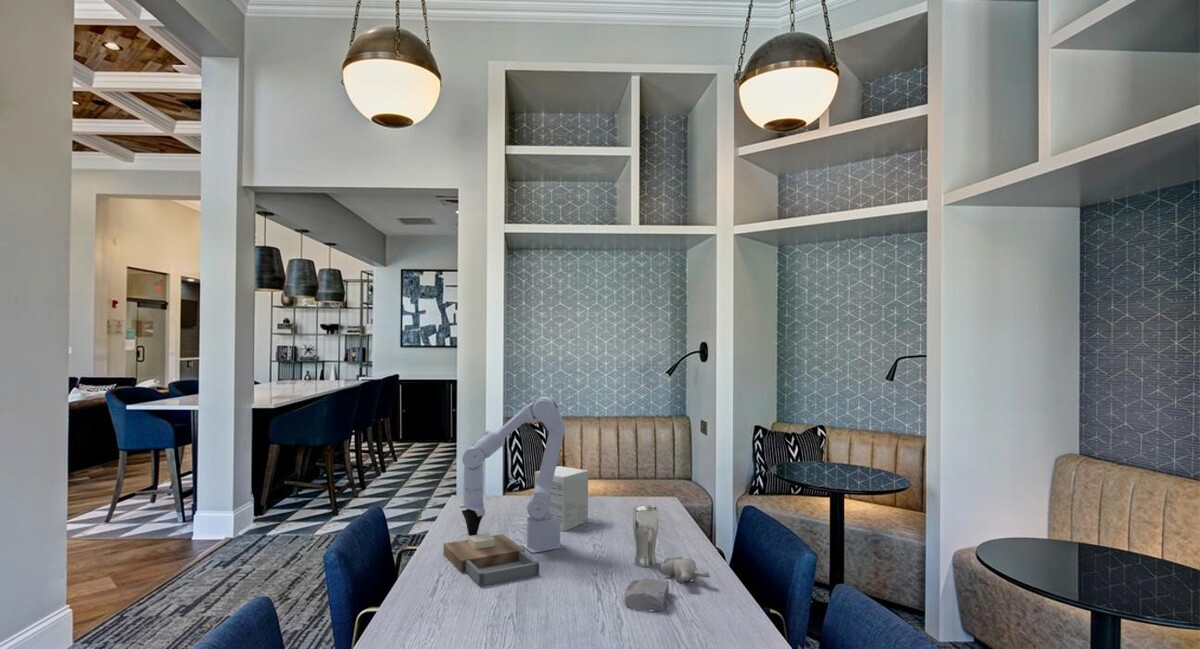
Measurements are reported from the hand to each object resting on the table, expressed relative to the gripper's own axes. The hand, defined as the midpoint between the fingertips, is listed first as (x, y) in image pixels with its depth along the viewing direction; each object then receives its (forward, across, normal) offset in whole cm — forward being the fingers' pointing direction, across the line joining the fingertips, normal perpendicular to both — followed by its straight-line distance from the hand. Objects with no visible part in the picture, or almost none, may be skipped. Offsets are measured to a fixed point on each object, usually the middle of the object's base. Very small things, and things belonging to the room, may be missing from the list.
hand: (472, 535), depth 180 cm
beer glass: (+4, +35, +37) cm, 51 cm away
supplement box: (+4, -10, +34) cm, 36 cm away
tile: (+1, +7, 0) cm, 7 cm away
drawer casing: (+4, +9, 0) cm, 10 cm away
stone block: (+4, +55, +23) cm, 60 cm away
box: (+4, +23, 0) cm, 24 cm away
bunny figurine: (+4, +49, +39) cm, 63 cm away
